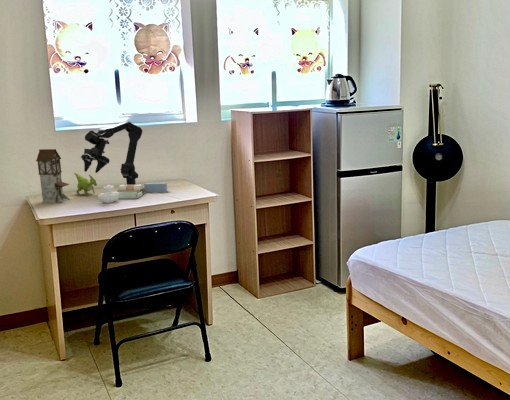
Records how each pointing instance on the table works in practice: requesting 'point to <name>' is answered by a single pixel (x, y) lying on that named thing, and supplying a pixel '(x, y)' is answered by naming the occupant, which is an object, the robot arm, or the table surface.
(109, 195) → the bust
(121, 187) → the tile
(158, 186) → the long blue block
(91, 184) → the toy
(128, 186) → the tile
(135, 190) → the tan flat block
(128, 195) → the tray
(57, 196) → the model building
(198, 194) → the table surface
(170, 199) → the table surface
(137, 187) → the tile
